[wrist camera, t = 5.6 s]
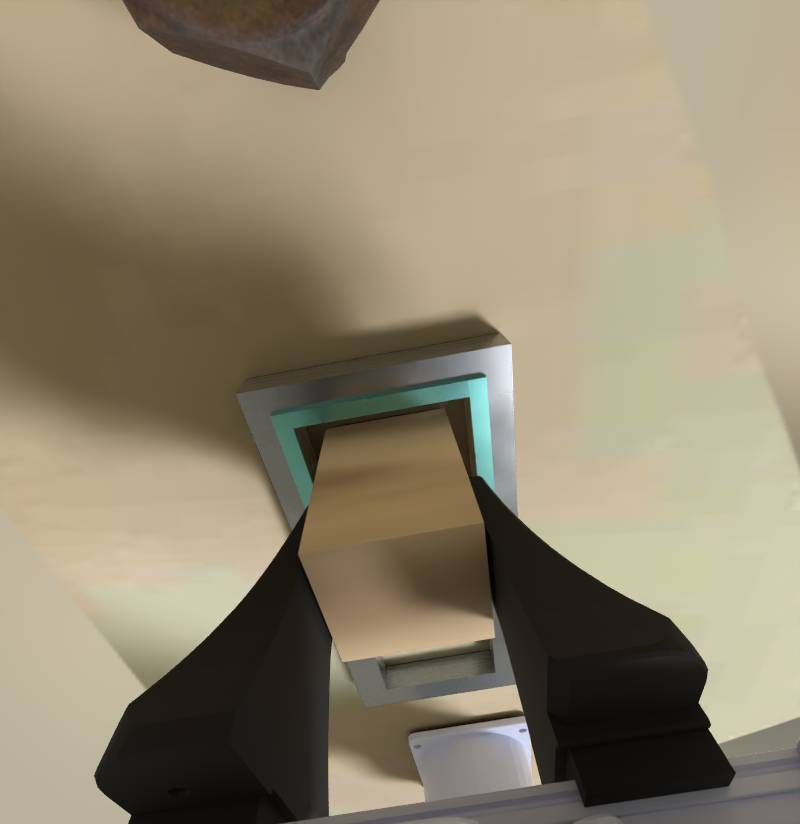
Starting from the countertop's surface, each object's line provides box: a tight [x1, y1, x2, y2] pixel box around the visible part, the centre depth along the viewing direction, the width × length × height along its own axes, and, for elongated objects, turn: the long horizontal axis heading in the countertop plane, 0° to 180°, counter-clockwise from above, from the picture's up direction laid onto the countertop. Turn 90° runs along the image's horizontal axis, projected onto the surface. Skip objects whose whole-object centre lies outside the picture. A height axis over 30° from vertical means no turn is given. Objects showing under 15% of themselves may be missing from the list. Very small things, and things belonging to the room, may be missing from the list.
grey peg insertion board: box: [235, 333, 518, 708], centre depth 18 cm, size 20×9×1 cm, turn 10°
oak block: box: [298, 408, 495, 662], centre depth 13 cm, size 4×4×6 cm
